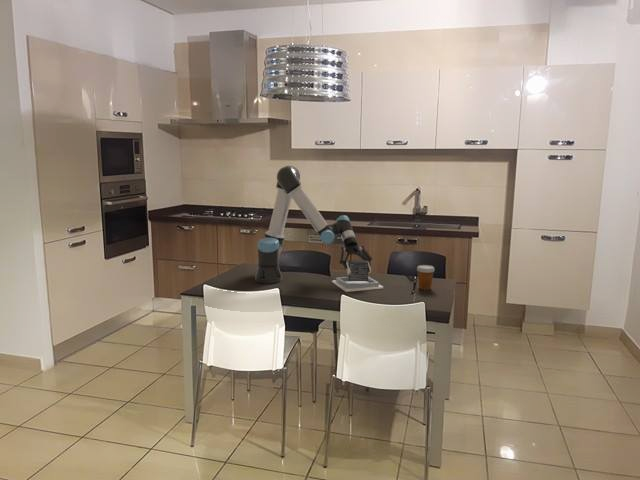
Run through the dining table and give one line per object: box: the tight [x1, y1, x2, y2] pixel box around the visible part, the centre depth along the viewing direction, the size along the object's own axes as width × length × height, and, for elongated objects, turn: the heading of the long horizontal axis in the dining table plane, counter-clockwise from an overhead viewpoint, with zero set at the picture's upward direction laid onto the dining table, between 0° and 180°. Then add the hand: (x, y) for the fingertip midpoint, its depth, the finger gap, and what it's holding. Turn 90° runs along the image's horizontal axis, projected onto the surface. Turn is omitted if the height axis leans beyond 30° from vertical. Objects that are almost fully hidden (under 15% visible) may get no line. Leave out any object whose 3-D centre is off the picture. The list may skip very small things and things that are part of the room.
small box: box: [347, 259, 369, 281], centre depth 279 cm, size 11×6×10 cm, turn 89°
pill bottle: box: [416, 264, 436, 291], centre depth 276 cm, size 10×10×12 cm
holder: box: [331, 276, 384, 293], centre depth 280 cm, size 22×20×3 cm
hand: (359, 272), depth 277 cm, fingers closed on small box, 11 cm apart
